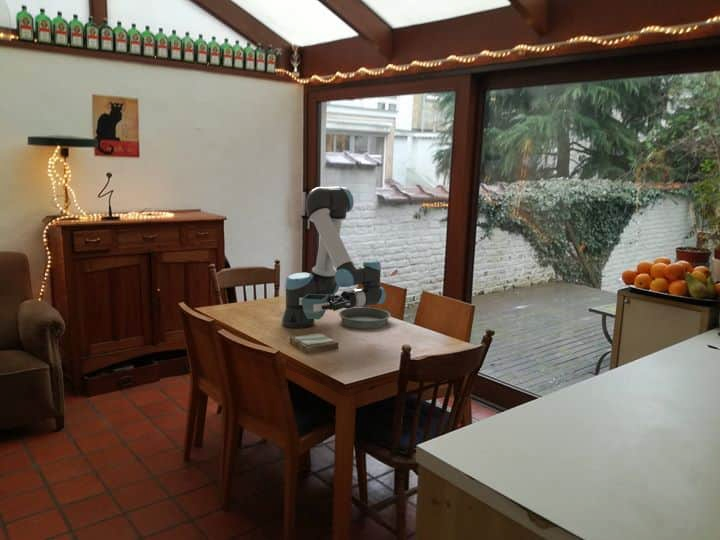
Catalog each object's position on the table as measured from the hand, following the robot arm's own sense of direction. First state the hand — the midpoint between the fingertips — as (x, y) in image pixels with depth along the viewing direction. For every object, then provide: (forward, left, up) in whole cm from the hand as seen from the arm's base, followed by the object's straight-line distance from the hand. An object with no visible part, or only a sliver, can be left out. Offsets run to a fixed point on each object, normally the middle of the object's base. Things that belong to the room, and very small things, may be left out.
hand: (306, 304), depth 239 cm
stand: (0, +3, -18) cm, 18 cm away
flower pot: (0, +4, -6) cm, 7 cm away
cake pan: (-20, +41, -18) cm, 50 cm away
